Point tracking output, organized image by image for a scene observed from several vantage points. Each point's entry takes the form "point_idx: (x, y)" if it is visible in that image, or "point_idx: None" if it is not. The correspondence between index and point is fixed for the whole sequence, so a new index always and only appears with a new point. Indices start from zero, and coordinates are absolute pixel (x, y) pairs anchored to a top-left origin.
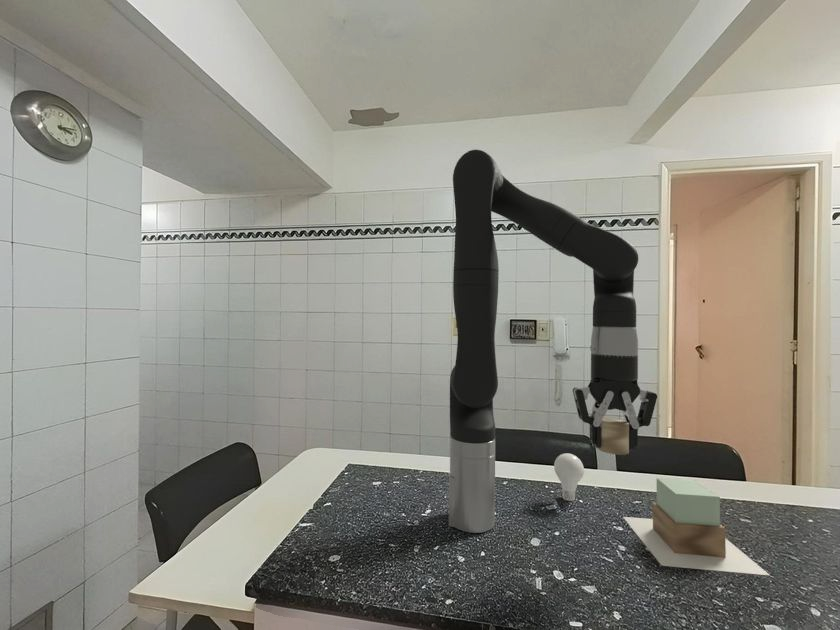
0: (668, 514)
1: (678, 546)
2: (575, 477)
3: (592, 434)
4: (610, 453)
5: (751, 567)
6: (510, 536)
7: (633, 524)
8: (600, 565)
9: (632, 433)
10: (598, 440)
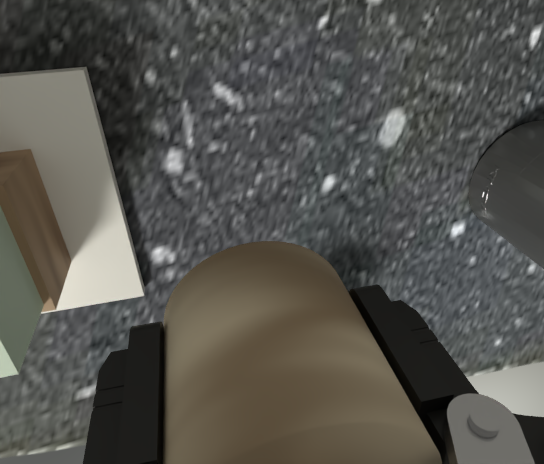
0: (14, 242)
1: (13, 157)
2: None
3: (440, 348)
4: (299, 246)
5: None
6: (446, 134)
7: (122, 265)
8: (252, 55)
9: (136, 428)
10: (389, 314)
